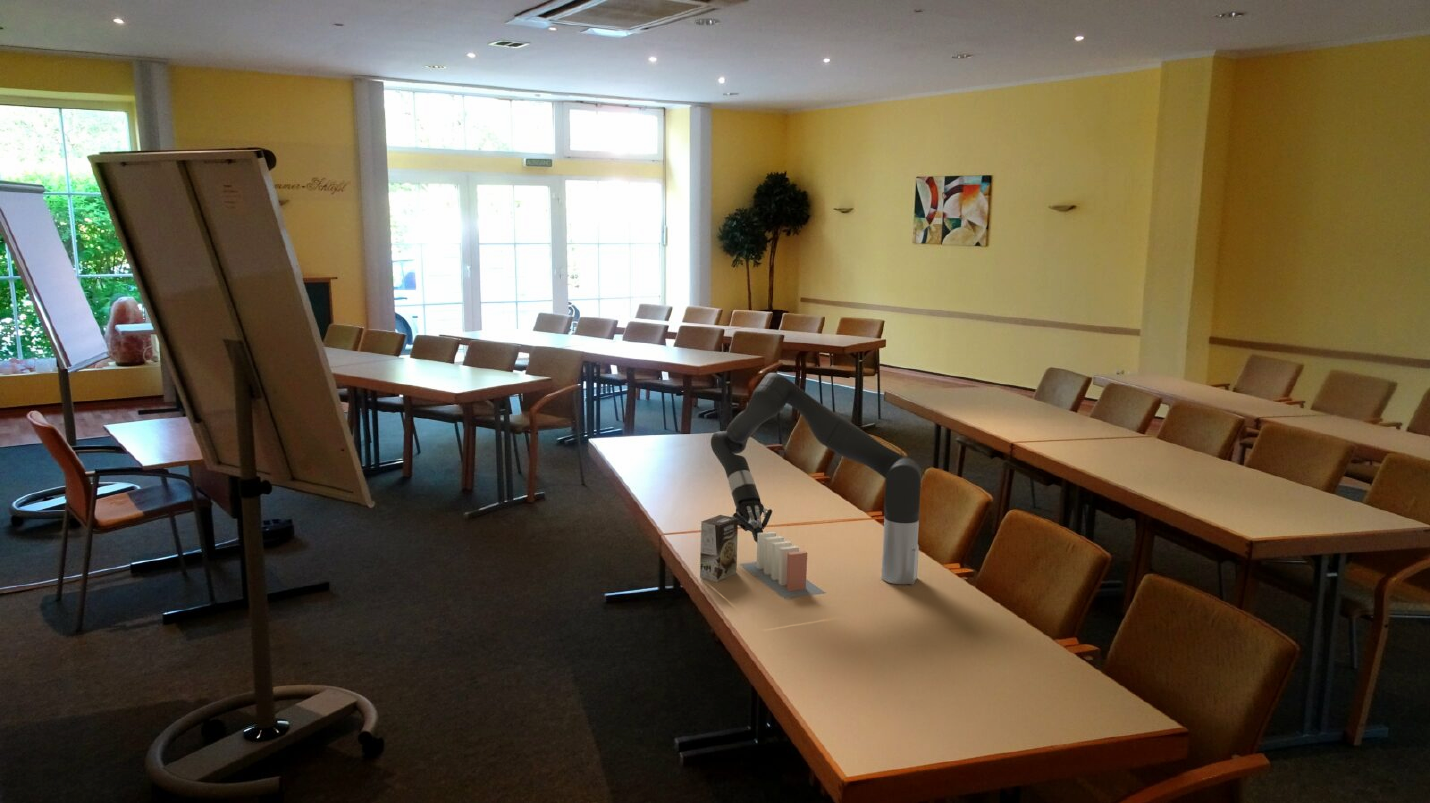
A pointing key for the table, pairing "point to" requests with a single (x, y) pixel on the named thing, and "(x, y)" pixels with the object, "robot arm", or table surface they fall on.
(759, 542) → the domino
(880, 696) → the table surface
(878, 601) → the table surface
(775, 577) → the domino
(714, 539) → the coffee box
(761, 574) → the mat
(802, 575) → the domino
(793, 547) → the domino
